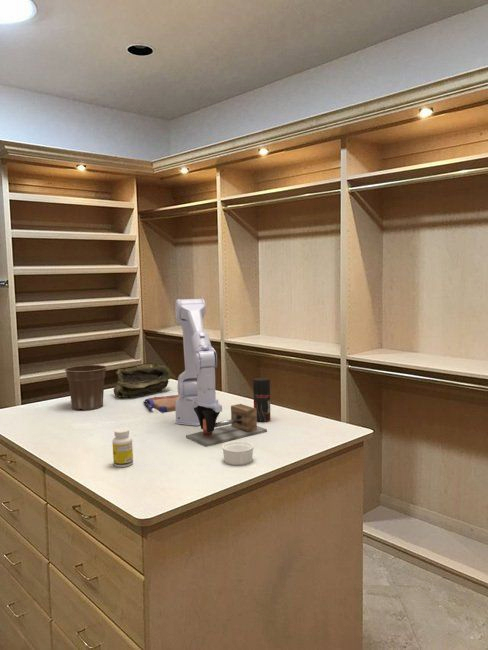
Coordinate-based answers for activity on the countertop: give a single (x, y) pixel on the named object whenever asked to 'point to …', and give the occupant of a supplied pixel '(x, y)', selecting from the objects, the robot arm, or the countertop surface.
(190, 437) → the eye block
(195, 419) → the robot arm
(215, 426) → the copper head mallet
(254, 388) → the deodorant
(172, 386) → the countertop surface
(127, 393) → the hollow geode rock
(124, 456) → the supplement bottle
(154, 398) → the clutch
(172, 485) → the countertop surface
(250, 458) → the ramekin
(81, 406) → the plant pot
